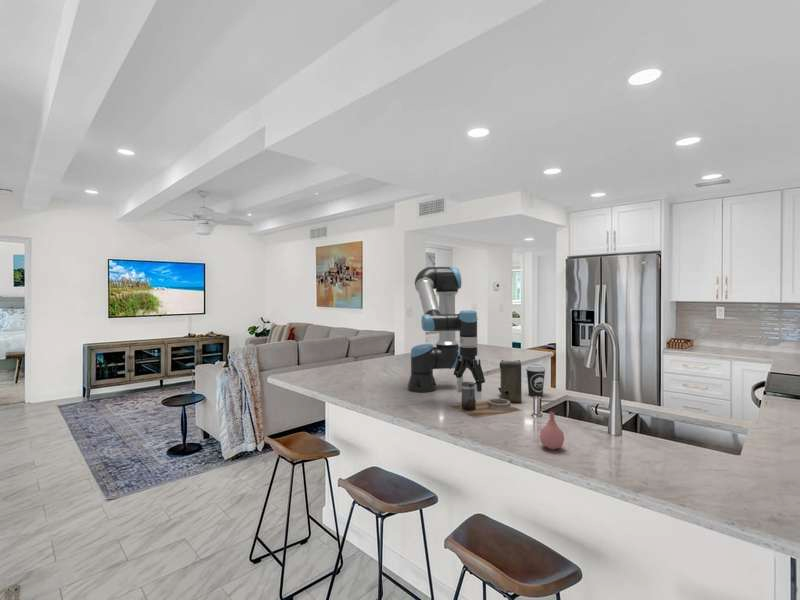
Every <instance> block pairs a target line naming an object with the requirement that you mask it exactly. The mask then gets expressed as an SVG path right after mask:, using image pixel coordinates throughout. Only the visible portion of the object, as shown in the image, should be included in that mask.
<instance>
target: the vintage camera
mask: <svg viewBox="0 0 800 600" xmlns="http://www.w3.org/2000/svg"><path fill="white" fill-rule="evenodd" d="M499 369H500V371H499V372H500V387H498V388H497V389H498V392H499V393H500V399H508V400H509V401H510V402H511V404H513V403H514V404H517V403H518V404H520V403H522V361H521V360H520V359H518V360H503V359H502V360H500V362H499Z"/></svg>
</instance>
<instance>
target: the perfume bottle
mask: <svg viewBox="0 0 800 600" xmlns="http://www.w3.org/2000/svg"><path fill="white" fill-rule="evenodd" d="M539 433H540V435H539V439H540V443H541V445H542V446H544V447H546V448H548V450H553V451H554V450H556V449H561V448H563V445H564V441H565V435H564V431H563V430H562V429H561V428H560V427H559V426H558V424H557V422H556V420H555V412H553V411H549V420H547V423H546V425H545V426H543V428H541V429H540V432H539Z"/></svg>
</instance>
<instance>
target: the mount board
mask: <svg viewBox="0 0 800 600" xmlns="http://www.w3.org/2000/svg"><path fill="white" fill-rule="evenodd" d="M511 404H512V403H511V402H510V401H509V400H508V399H501V398H489V399H488V400H487V401H479V402H476V409H475V410H472V411H467V410H463V409H462V404H460V405H459V404H458V405H454V406H453V405H452V406H451V408H452V409H455V410H457V411H460V412H461V413H464V414H466V415H468V416H470V417H472V418H474V419H478V418H479V419H480V418H484V417H490V416H497V415H501V414H508V413H514V412H520V411H522V409H520V408H518V407H514V406H512V405H511Z"/></svg>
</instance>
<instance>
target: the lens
mask: <svg viewBox="0 0 800 600" xmlns="http://www.w3.org/2000/svg"><path fill="white" fill-rule="evenodd" d="M475 383H476V382H475V381H463V382H462V385H461V388H462V392H461V405H462V409H463V410H467V411H472V410H475V409H476V403H477V401H476V400H475Z"/></svg>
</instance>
